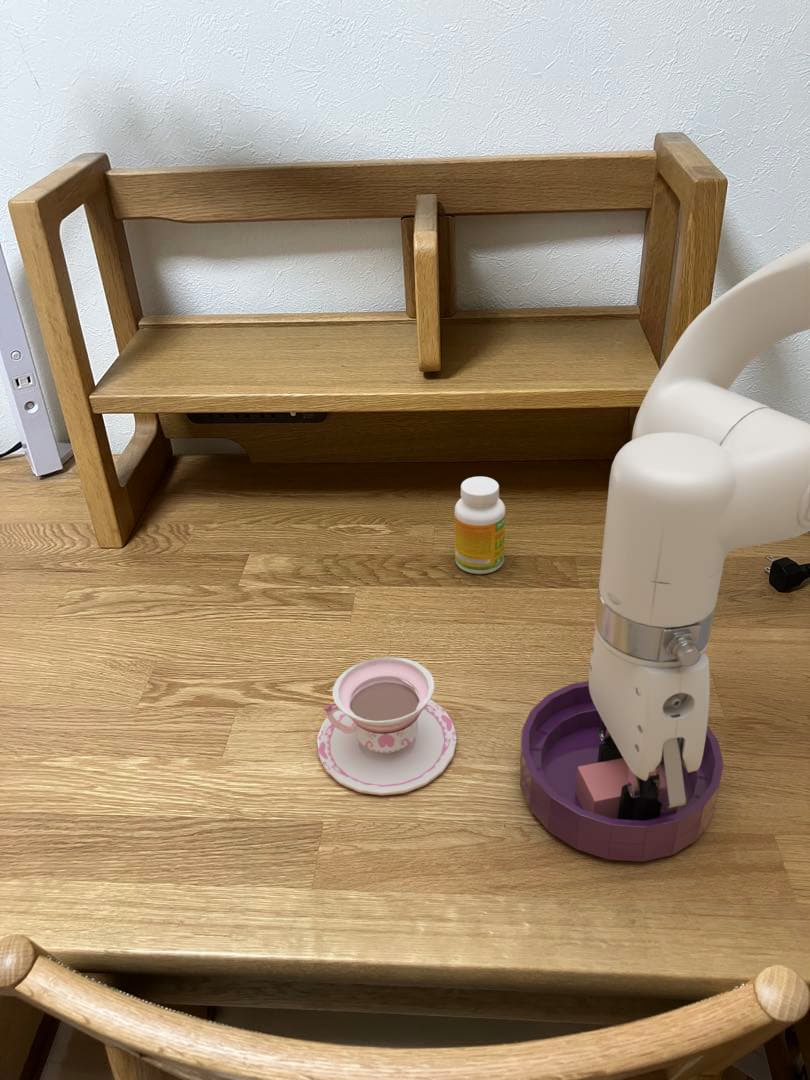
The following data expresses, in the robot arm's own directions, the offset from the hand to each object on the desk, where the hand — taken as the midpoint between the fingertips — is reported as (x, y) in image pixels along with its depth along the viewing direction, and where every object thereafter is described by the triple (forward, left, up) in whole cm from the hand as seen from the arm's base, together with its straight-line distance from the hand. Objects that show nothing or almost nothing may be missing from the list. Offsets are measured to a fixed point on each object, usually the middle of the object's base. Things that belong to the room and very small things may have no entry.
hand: (626, 797), depth 70 cm
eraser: (0, 0, 0) cm, 0 cm away
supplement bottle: (+2, -35, -1) cm, 35 cm away
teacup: (+17, -11, -1) cm, 20 cm away
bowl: (0, -2, -1) cm, 2 cm away
